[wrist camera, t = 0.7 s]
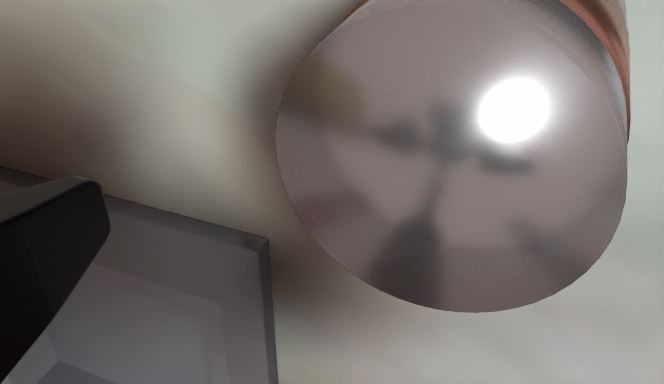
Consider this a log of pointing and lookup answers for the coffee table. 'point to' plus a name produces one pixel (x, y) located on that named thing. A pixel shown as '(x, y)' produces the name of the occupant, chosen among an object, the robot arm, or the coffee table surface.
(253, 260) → the tote
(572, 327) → the coffee table surface
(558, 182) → the steel tin
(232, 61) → the coffee table surface
